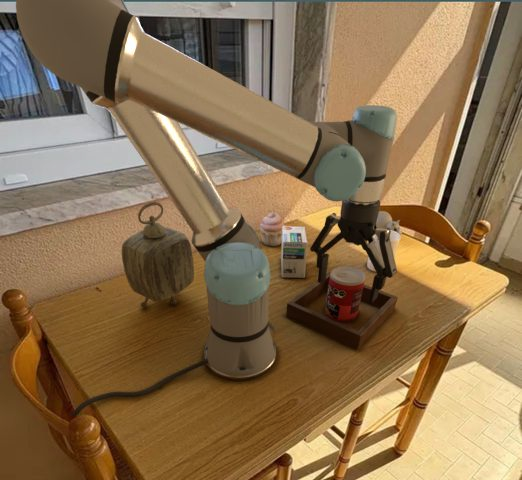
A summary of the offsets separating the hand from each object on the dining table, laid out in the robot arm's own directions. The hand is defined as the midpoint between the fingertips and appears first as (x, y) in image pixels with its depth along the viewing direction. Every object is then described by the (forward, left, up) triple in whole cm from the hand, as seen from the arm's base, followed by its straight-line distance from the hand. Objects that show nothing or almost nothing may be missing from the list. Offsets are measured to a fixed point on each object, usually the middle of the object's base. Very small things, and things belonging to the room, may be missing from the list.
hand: (346, 289), depth 90 cm
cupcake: (+20, +37, -7) cm, 43 cm away
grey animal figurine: (+45, +10, -7) cm, 47 cm away
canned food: (0, 0, -7) cm, 7 cm away
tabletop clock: (-24, +37, -7) cm, 45 cm away
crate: (0, 0, -7) cm, 7 cm away
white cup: (+27, +3, -7) cm, 28 cm away
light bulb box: (+10, +22, -7) cm, 25 cm away
